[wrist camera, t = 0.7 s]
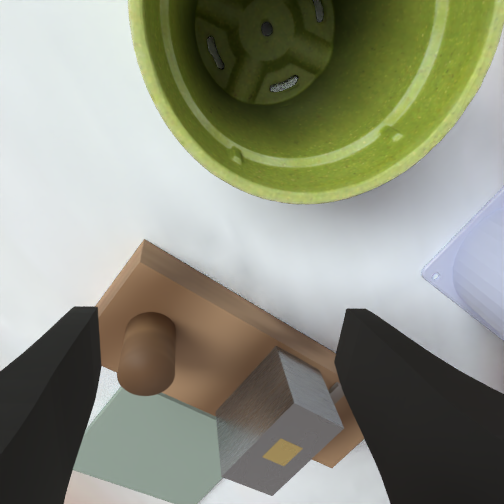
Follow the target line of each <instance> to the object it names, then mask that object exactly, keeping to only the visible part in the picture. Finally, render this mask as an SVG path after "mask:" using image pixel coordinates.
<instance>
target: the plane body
mask: <svg viewBox="0 0 504 504" xmlns="http://www.w3.org/2000/svg"><path fill="white" fill-rule="evenodd" d="M95 307H98V319H99V335H100V351H101V366H103V367H106V368H108V369H110V370H112V371H115V372H117V378H118V381H119V384H120V385H121V386H122V387H123V388H124V389H125V390H126V391H128V392H129V393H131V394H134V395H138V396H153V395H156V394H159V393H161V392H162V393H164V394H166V395H168V396H171V397H173V398H175V399H177V400H180V401H182V402H184V403H186V404H189V405H191V406H193V407H195V408H198V409H200V410H202V411H204V412H207V413H209V414H211V415H213V416H216V410H217V409H218V408H219V407H220V406H221V405H222V404H223V403H224V402H225V401H226V400H227V399H228V397H229V396H230V395H231V394H232V393H233V392H234V391H235V390H236V389H237V388H238V387H239V385H240V384H241V383H242V382H243V381H244V380H245V379H246V378H247V377H248V376H249V375H250V374H251V372H252V371H253V370H254V369H255V368H256V367H257V366H258V365H259V364H260V363H261V362H262V360H263V359H264V358H265V357H266V356H267V355H268V354H269V353H270V352H271V351H272V350H273V349H274V347H275V346H278V347H280V348H281V349H283V350H285V351H287V352H288V353H290V354H292V355H294V356H295V357H297V358H299V359H301V360H303V361H304V362H306V363H308V364H310V365H311V366H313V367H315V368H317V369H319V370H320V372H321V375H322V377H323V380H324V382H325V384H326V387H327V389H328V391H329V394H330V396H331V398H332V401H333V403H334V405H335V408H336V410H337V412H338V415H339V417H340V419H341V422H342V424H343V426H344V429H343V430H342V431H341V432H340V433H339V434H338V435H337V436H335V437H334V438H333V439H332V440H331V441H330V442H329V443H328V444H327V445H326V446H325V447H324V448H323V449H322V450H321V451H320V452H318V453H317V454H316V455H315V456H314V457H313V458H312V460H314V461H317V462H319V463H321V464H323V465H326V466H328V467H330V468H333V467H334V466H335V465H336V464H337V463H338V462H339V461H340V460H342V459H343V458H344V457H345V456H346V455H347V454H348V453H349V452H350V451H351V450H353V449H354V448H355V447H356V446H357V445H358V444H359V443H360V442H361V441H362V440H363V439H364V436H363V434H362V432H361V430H360V428H359V426H358V424H357V422H356V419H355V417H354V415H353V413H352V411H351V409H350V406H349V404H348V402H347V400H346V398H345V395H344V393H343V390H342V387H341V384H340V381H339V378H338V374H337V371H336V367H335V364H334V360H335V356H336V353H334V352H332V351H331V350H329V349H327V348H326V347H324V346H322V345H321V344H319V343H317V342H316V341H314V340H312V339H311V338H309V337H307V336H306V335H304V334H302V333H301V332H299V331H297V330H296V329H294V328H292V327H291V326H289V325H287V324H286V323H284V322H282V321H281V320H279V319H277V318H275V317H274V316H272V315H270V314H269V313H267V312H265V311H264V310H262V309H260V308H259V307H257V306H255V305H254V304H252V303H250V302H249V301H247V300H245V299H244V298H242V297H240V296H239V295H237V294H235V293H234V292H232V291H230V290H229V289H227V288H225V287H224V286H222V285H220V284H219V283H217V282H215V281H213V280H212V279H210V278H208V277H207V276H205V275H203V274H202V273H200V272H198V271H197V270H195V269H193V268H192V267H190V266H188V265H187V264H185V263H183V262H182V261H180V260H178V259H177V258H175V257H173V256H172V255H170V254H168V253H167V252H165V251H163V250H162V249H160V248H158V247H156V246H155V245H153V244H151V243H150V242H148V241H146V240H145V239H144V240H143V242H142V243H141V244H140V246H139V247H138V249H137V250H136V251H135V253H134V254H133V255H132V257H131V258H130V260H129V261H128V262H127V264H126V265H125V266H124V268H123V269H122V271H121V272H120V273H119V275H118V276H117V277H116V279H115V280H114V281H113V283H112V284H111V286H110V287H109V288H108V290H107V291H106V292H105V294H104V295H103V297H102V298H101V299H100V301H99V302H98V303H97V305H96V306H95Z"/></svg>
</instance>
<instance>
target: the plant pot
mask: <svg viewBox="0 0 504 504" xmlns="http://www.w3.org/2000/svg"><path fill="white" fill-rule="evenodd" d="M321 3H322V6H323V12H324V16H323V20H322V21H321V22H320V23H318V21H317V18H316V12H315V6H314V3H313V0H128V9H129V21H130V28H131V35H132V40H133V45H134V50H135V53H136V57H137V62H138V65H139V67H140V71H141V74H142V76H143V79H144V82H145V84H146V87H147V89H148V92H149V94H150V96H151V98H152V100H153V102H154V104H155V106H156V108H157V110H158V111H159V113H160V115H161V117H162V119H163V120H164V122H165V123H166V125H167V126H168V128H169V129H170V131H171V132H172V133H173V135H174V136H175V137H176V139H177V140H178V141H179V142H180V144H181V145H182V146H183V147H184V148H185V149H186V150H187V152H188V153H189V154H190V155H191V156H192V157H193V158H194V159H195V160H197V161H198V162H199V163H200V164H201V165H202V166H203V167H204V168H205V169H207V170H208V171H209V172H210V173H212V174H213V175H215V176H216V177H218V178H220V179H221V180H223V181H225V182H226V183H228V184H230V185H232V186H233V187H236V188H238V189H240V190H242V191H244V192H247V193H249V194H251V195H254V196H257V197H260V198H263V199H267V200H271V201H277V202H282V203H288V204H321V203H329V202H334V201H339V200H344V199H348V198H351V197H354V196H357V195H359V194H362V193H365V192H367V191H370V190H372V189H374V188H377V187H379V186H381V185H382V184H384V183H386V182H388V181H390V180H392V179H394V178H395V177H397V176H399V175H400V174H402V173H403V172H405V171H406V170H408V169H409V168H411V167H412V166H413V165H415V164H416V163H417V162H418V161H419V160H421V159H422V158H423V157H424V156H425V155H427V154H428V152H429V151H430V150H431V149H432V148H433V147H435V146H436V145H437V144H438V143H439V142H440V141H441V140H442V139H443V138H444V136H445V135H446V134H447V133H448V132H449V131H450V130H451V128H452V127H453V126H454V125H455V124H456V122H457V121H458V119H459V118H460V117H461V115H462V114H463V112H464V111H465V109H466V108H467V106H468V105H469V103H470V102H471V100H472V99H473V98H474V96H475V94H476V93H477V91H478V90H479V88H480V86H481V84H482V82H483V79H484V77H485V75H486V73H487V71H488V69H489V67H490V65H491V62H492V60H493V57H494V54H495V52H496V49H497V46H498V43H499V40H500V36H501V33H502V29H503V25H504V0H321ZM265 22H269V23H270V24H271V25H272V28H273V30H272V34H271V35H270V36H265V35H263V34H262V30H261V27H262V24H263V23H265ZM209 36H212V37H214V40H215V45H216V47H217V51H218V53H219V55H220V58H221V60H222V62H223V63H224V65H225V66H224V69H223V70H222V69H219V68H218V67H217V66H216V63H215V61H214V58H213V56H212V55H211V54H210V53H209V51H208V46H207V38H208V37H209ZM294 75H297V76H298V81H297V82H296V84H295V85H294V86H292V87H291V88H287V89H285V90H283V91H280V92H272V91H270V86H271V85H274V84H277V83H281V82H283V81H286V80H287V79H289V78H290V77H292V76H294Z"/></svg>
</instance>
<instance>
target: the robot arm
mask: <svg viewBox="0 0 504 504" xmlns="http://www.w3.org/2000/svg"><path fill="white" fill-rule="evenodd" d="M435 273H439V275H438V277H437V278H436V279H432V276H433V275H434V274H435ZM421 275H422V277H423V278H424V279H425V280H427V281H428V282H429V283H431V284H432V285H433V286H434V287H436V288H437V289H438V290H439V291H441V292H442V293H443V294H445V295H446V296H447V297H448V298H450V299H451V300H452V301H453V302H455V303H456V304H457V305H459V306H460V307H461V308H462V309H464V310H465V311H466V312H468V313H469V314H470V315H471V316H473V317H474V318H475V319H476V320H478V321H479V322H480V323H482V324H483V325H484V326H485V327H487V328H488V329H489V330H490V331H492V332H493V333H494V334H496V335H497V336H498V337H499V338H501V339H502V340H503V341H504V186H503V187H502V188H501V189H500V190H499V191H498V192H497V193H496V194H495V195H494V196H493V197H492V198H491V199H490V200H489V201H488V202H487V203H486V204H485V205H484V206H483V208H482V209H481V210H480V211H479V212H478V213H477V214H476V215H475V216H474V217H473V218H472V219H471V220H470V221H469V222H468V223H467V224H466V225H465V226H464V227H463V228H462V229H461V230H460V231H459V232H458V233H457V234H456V235H455V236H454V237H453V238H452V239H451V240H450V241H449V242H448V243H447V244H446V245H445V246H444V247H443V248H442V249H441V250H440V251H439V252H438V253H437V254H436V255H435V256H434V257H433V258H432V259H431V260H430V261H429V262H428V263H427V264H426V265H425V266H424V268H423V269H422V271H421ZM334 364H335V367H336V371H337V374H338V378H339V381H340V384H341V387H342V390H343V393H344V395H345V398H346V400H347V402H348V404H349V406H350V409H351V411H352V413H353V415H354V417H355V419H356V422H357V424H358V426H359V428H360V430H361V432H362V434H363V436H364V439H365V441H366V443H367V445H368V447H369V449H370V451H371V454H372V456H373V458H374V460H375V462H376V465H377V467H378V470H379V472H380V474H381V477H382V480H383V483H384V486H385V489H386V492H387V494H388V497H389V500H390V503H391V504H504V394H502V393H500V392H498V391H496V390H494V389H492V388H490V387H488V386H487V385H485V384H483V383H481V382H479V381H477V380H475V379H474V378H472V377H470V376H468V375H466V374H464V373H463V372H461V371H459V370H458V369H456V368H454V367H453V366H451V365H449V364H448V363H446V362H445V361H443V360H441V359H440V358H438V357H436V356H435V355H433V354H432V353H430V352H429V351H427V350H426V349H424V348H423V347H421V346H420V345H418V344H417V343H415V342H414V341H413V340H411V339H410V338H408V337H407V336H405V335H404V334H402V333H401V332H400V331H398V330H397V329H395V328H394V327H393V326H391V325H390V324H388V323H387V322H385V321H384V320H382V319H381V318H380V317H378V316H377V315H375V314H373V313H372V312H370V311H368V310H367V309H346V313H345V318H344V322H343V326H342V330H341V335H340V339H339V343H338V348H337V352H336V356H335V360H334ZM100 371H101V351H100V335H99V319H98V307H73V308H72V309H71V310H70V311H69V312H67V313H66V314H65V315H64V316H63V317H62V318H61V319H60V320H59V321H58V322H57V323H56V324H55V325H54V326H53V327H51V328H50V329H49V330H48V331H47V332H46V333H45V334H44V335H43V336H42V337H41V338H40V339H38V340H37V341H36V342H35V343H34V344H33V345H32V346H30V347H29V348H28V349H27V350H26V351H25V352H24V353H23V354H21V355H20V356H19V357H18V358H16V359H15V360H14V361H13V362H11V363H10V364H9V365H8V366H7V367H5V368H4V369H3V370H2V371H0V504H64V499H65V495H66V491H67V487H68V484H69V480H70V477H71V474H72V470H73V467H74V464H75V461H76V458H77V455H78V452H79V449H80V446H81V443H82V439H83V436H84V433H85V430H86V427H87V424H88V421H89V418H90V414H91V411H92V408H93V405H94V402H95V398H96V393H97V388H98V382H99V377H100Z"/></svg>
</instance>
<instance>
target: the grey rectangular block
mask: <svg viewBox="0 0 504 504" xmlns="http://www.w3.org/2000/svg"><path fill="white" fill-rule="evenodd" d="M216 423H217V434H218V445H219V456H220V467H221V477H224V478H226V479H229V480H231V481H234V482H237V483H239V484H242V485H245V486H247V487H250V488H253V489H255V490H258V491H260V492H263V493H266V494H268V495H271V496H273V495H274V494H275V493H276V492H277V491H278V490H279V489H280V488H281V487H282V486H283V485H284V484H286V483H287V482H288V481H289V480H290V479H291V478H292V477H293V476H294V475H295V474H296V473H297V472H298V471H299V470H300V469H301V468H303V467H304V466H305V465H306V464H307V463H308V462H309V461H310V460H311V459H312V458H313V457H314V456H315V455H316V454H317V453H318V452H320V451H321V450H322V449H323V448H324V447H325V446H326V445H327V444H328V443H329V442H330V441H331V440H332V439H333V438H334V437H335V436H337V435H338V434H339V433H340V432H341V431H342V430H343V429H344V426H343V424H342V422H341V419H340V417H339V415H338V412H337V410H336V408H335V405H334V403H333V401H332V398H331V396H330V394H329V391H328V389H327V387H326V384H325V382H324V380H323V377H322V375H321V372H320V370H319V369H317V368H315V367H313V366H311V365H310V364H308V363H306V362H304V361H303V360H301V359H299V358H297V357H295V356H294V355H292V354H290V353H288V352H287V351H285V350H283V349H281V348H280V347H278V346H275V347H274V349H273V350H272V351H271V352H270V353H269V354H268V355H267V356H266V357H265V358H264V359H263V360H262V362H261V363H260V364H259V365H258V366H257V367H256V368H255V369H254V370H253V371H252V372H251V374H250V375H249V376H248V377H247V378H246V379H245V380H244V381H243V382H242V383H241V384H240V385H239V387H238V388H237V389H236V390H235V391H234V392H233V393H232V394H231V395H230V396H229V397H228V399H227V400H226V401H225V402H224V403H223V404H222V405H221V406H220V407H219V408H218V409H217V410H216Z"/></svg>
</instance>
